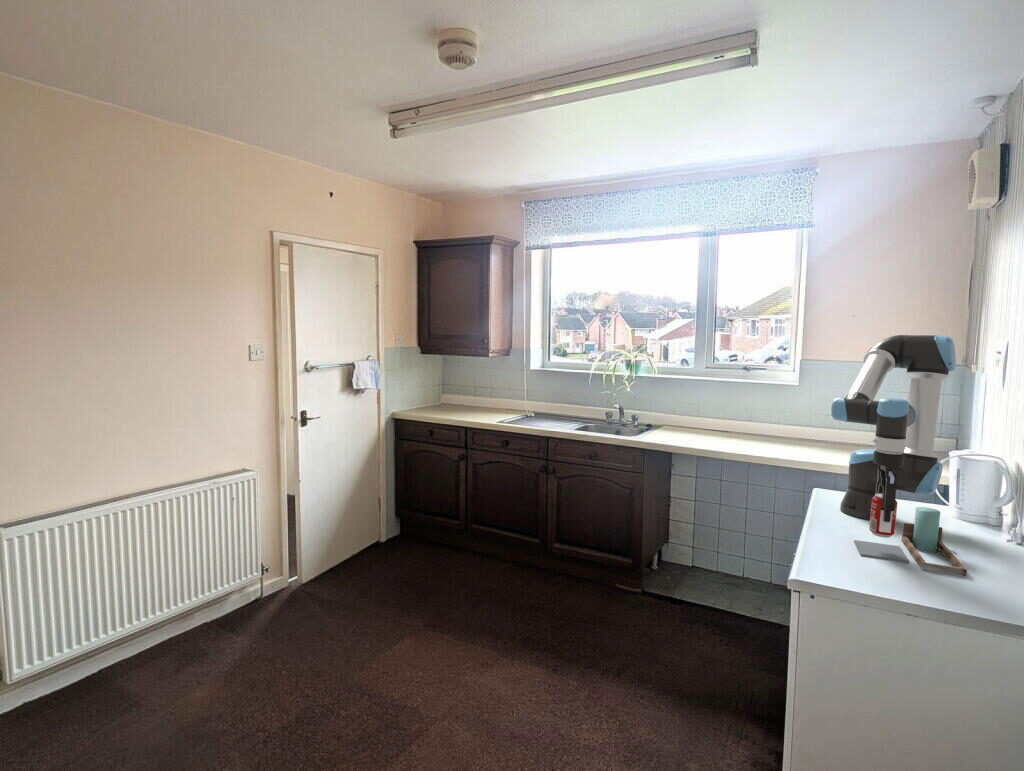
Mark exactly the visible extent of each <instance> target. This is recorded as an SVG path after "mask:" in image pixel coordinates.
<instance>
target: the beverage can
mask: <svg viewBox="0 0 1024 771" xmlns="http://www.w3.org/2000/svg"><path fill="white" fill-rule="evenodd" d="M882 499H883V493H876V494H875V496H874V497H873V498H872V504H871V515H870V519H869V526H868V527H869V528H868V529H869V531H870V532H871V534H872V535H873V536H876V537H879V538H885V539H888V538H891V537H892V536H894V535H895V530H896V522H897V521H896V520H897V510H898V501H897V500H896V499H895V511H893V512H892V523H891V533H887V532H880V531H879V527H880V515H881V510H880V509H879V508H882Z"/></svg>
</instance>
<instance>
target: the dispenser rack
mask: <svg viewBox="0 0 1024 771" xmlns="http://www.w3.org/2000/svg"><path fill="white" fill-rule="evenodd" d="M913 533H914V523H911V522H903V523H902V531H901V542H902V544H903V545H904V547H905V548H906V549H907V551H908V552H909V554H910V555H911V557H912V558H913V560H914V561H915V562H916V564H917V566H919V568H920V570H921V571H926V572H927V571H928V572H932V573H933V572H934V573H939V574H946V575H953V576H959V577H967V572H968V569H967V568H966V567H965V565H963V563H962V562H961V561H960V560H959V559H958V557H956V556H955V554H954V553H953V552H952V551H951V550H950V549H949V548H948V546H947V545H945V543H944V542H943V541H942V539H943V526H939V531H938V541H937V549H938V550H939V551H940V552H941V554H942V555H943V556H944V557H945V558H946V559H947V561H948V562H949V563H950V564H951V565H945V564H940V563H931V562H926V560H925V559H924V558H923V557H922V555H921V554H920V553H919V550H917V549H916V548H915V547H914V546H913Z"/></svg>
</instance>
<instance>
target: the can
mask: <svg viewBox="0 0 1024 771" xmlns="http://www.w3.org/2000/svg"><path fill="white" fill-rule="evenodd" d="M940 520H941V511H940V510H938V509H937V508H936V509H935V508H931V507H925V506H918V507H915V513H914V523H913V524H914V533H913V543H912V544H913V546H914V547H915V548H916V550H917V551H920V552H925V553H936V552H938V550H937V549H938V547H937V541H938V531H939V527H940Z"/></svg>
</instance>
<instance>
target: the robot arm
mask: <svg viewBox="0 0 1024 771" xmlns="http://www.w3.org/2000/svg"><path fill="white" fill-rule="evenodd" d="M956 360H957V359H956V348H955V343H954V340H953V339H952V337H950V336H945V335H932V334H931V335H928V334H927V335H920V334H919V335H917V334H915V335H914V334H911V335H909V334H906V335H905V334H898V335H897V334H896V335H892V336H889V337H886V338H884V339H882V340H879V341H878V342H876V343H875V344H873V345H872V346H871V347H870V348H869V349H868V351H867V352H866V354H865V355H864V357H863V365H862V367H861V369H860V371H859V372H858V374H857V376H856V378H855V379H854V381H853V383H852V385H851V387H850V388H849V390H848V392H847V394H846V395H845V397H843V396H842V397H836V398H834V399H833V400H832V403H831V409H830V410H831V411H830V412H831V417H832V419H833V420H835V421H840V422H844V423H852V424H863V425H870V426H871V425H873V426H875V436H874V437H875V438H873V439H872V442H873V443H874V448H864V449H863V448H862V449H856V450H853V451H852V452H851V453H850V456H849V462H848V465H849V466H848V475H847V479H848V480H847V489H846V491H845V494H844V496H843V498H842V500H841V503H840V506H839V507H840V508H839V510H840V511H841V512H842V513H843V514H846V515H848V516H851V517H854V518H855V517H856V518H860V519H866V520H870V515H871V504H872V498H873V497H874V496H875V494H876V493H883V499H882V508H879V509H880V510H881V515H880V527H879V531H880V532H887V533H891V523H892V512H893V511H895V500H896V498H897V497H896V496H897V492H903V493H909V494H913V495H922V496H928V497H929V496H932V495H934V494H935V492H936V491H937V488H938V486H939V484H940V481H941V477H942V473H943V467H944V465H943V463H941V462H939V461H938V458H939V457H938V455H937V454H936V453H935V452H934V446H935V445H934V444H935V437H936V430H937V422H938V413H939V406H940V398H941V389H942V382H943V381H944V380H945V379H947V378H948V377H949V372H953V371H955V370H956V364H957V363H956ZM894 369H906V374H907V376H908V377H909V378H910V384H909V393H908V399H903V398H902V399H901V398H892V397H891V398H890V397H889V398H888V397H887V398H886V397H885V398H884V397H883V398H880V399H879V400H874V399H875V397H876V395H877V394H878V392H879V390H880V387H881V386H882V384H883V382H884V380H885V379H886V376H887V375H888V373H889V372H891V371H892V370H894Z"/></svg>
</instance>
